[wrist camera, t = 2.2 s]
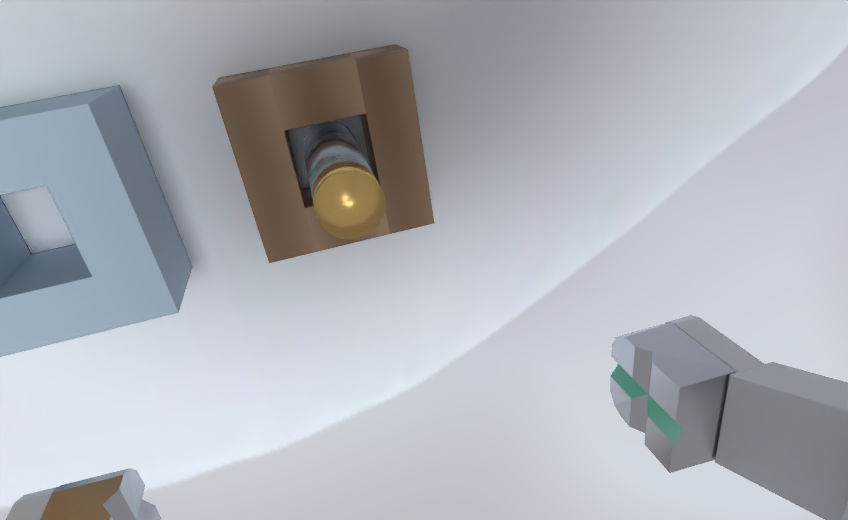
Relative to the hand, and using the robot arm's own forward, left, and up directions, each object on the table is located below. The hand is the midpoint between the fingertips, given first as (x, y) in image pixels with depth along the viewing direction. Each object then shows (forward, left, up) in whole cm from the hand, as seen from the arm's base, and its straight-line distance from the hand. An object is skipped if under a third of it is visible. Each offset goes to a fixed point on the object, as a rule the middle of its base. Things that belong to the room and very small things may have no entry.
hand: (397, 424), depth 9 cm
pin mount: (-1, +1, -23) cm, 23 cm away
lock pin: (-1, +1, -23) cm, 23 cm away
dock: (+13, +1, -23) cm, 26 cm away
